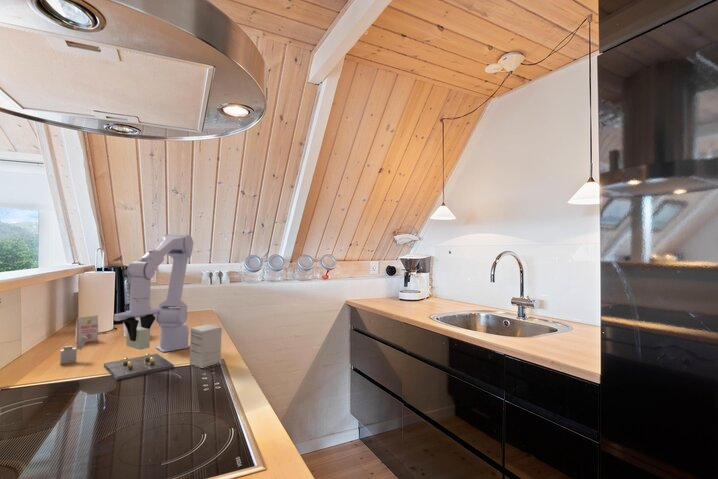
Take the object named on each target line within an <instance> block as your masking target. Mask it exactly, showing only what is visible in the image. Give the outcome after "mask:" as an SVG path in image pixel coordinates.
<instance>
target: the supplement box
mask: <svg viewBox="0 0 718 479" xmlns="http://www.w3.org/2000/svg"><path fill="white" fill-rule="evenodd" d="M222 329H223V328H222V327H221V326H218V325H213V324H211V323H210V324H209V323H208V324H203V325H198V326H192V327H190V338H189V339H190V343H189V344H190V345H189V365H190V364H192V365H195V366H198V367H201V368H203V367H207V366H210V365H213V364H216V363H218V362H221V361H222V359H221V358H222V356H221V355H222V333H223V332H222V331H223V330H222ZM192 365H191V366H192ZM195 366H194V367H195ZM207 368H208V367H207Z"/></svg>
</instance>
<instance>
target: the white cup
mask: <svg viewBox="0 0 718 479" xmlns="http://www.w3.org/2000/svg"><path fill="white" fill-rule="evenodd" d="M137 316H138V315H137ZM135 319H136V320H138V321H139V322H138V325H137V326H139V327H141V321H140V317H137V318H135ZM122 324H123V328H122V329H123V337H124V338H127V328H126V326H125V324H124V323H123V322H122Z"/></svg>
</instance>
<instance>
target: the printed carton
mask: <svg viewBox="0 0 718 479" xmlns="http://www.w3.org/2000/svg"><path fill="white" fill-rule="evenodd" d="M98 316H99V315H87V316H78V317H76V321H75V336H74V337H75V338H74V342H75V343H76V345H78V343H79V342H80V340H81V338H82V337H83V336H85V337H88V339H87V341H86V342H85V343H91V342H97V341H98V340H99V339H98V338H99V317H98Z"/></svg>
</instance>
